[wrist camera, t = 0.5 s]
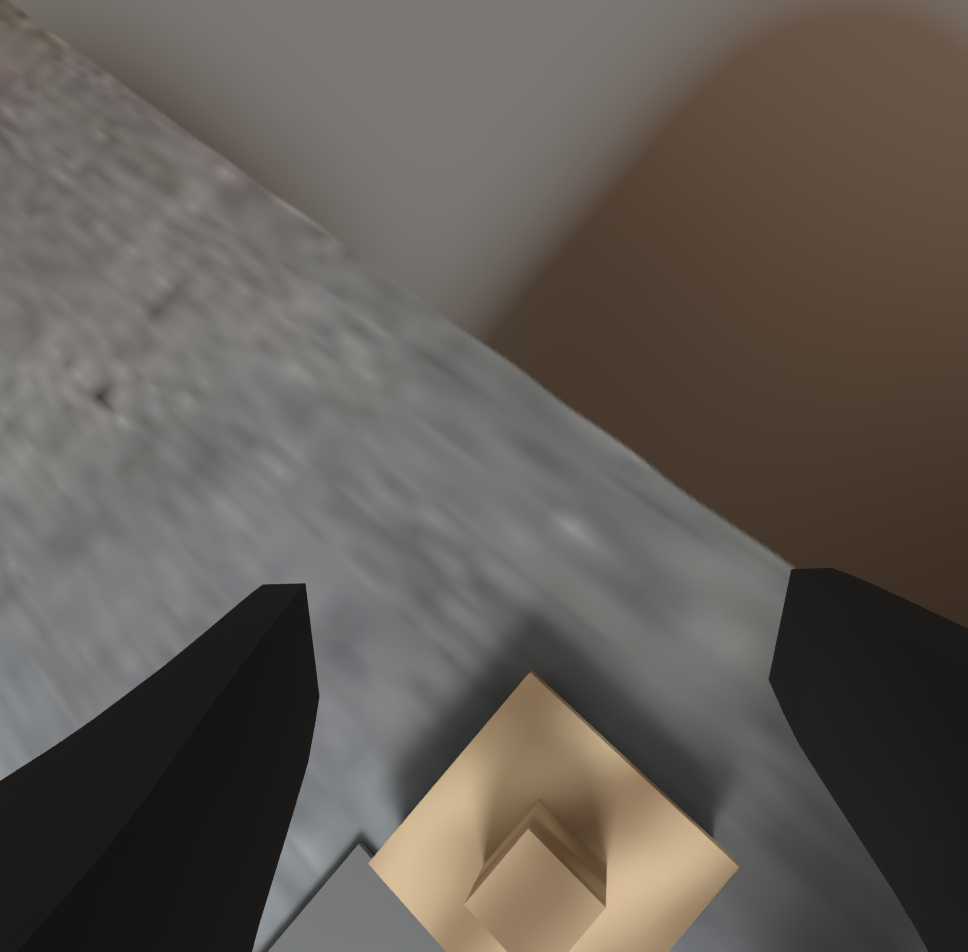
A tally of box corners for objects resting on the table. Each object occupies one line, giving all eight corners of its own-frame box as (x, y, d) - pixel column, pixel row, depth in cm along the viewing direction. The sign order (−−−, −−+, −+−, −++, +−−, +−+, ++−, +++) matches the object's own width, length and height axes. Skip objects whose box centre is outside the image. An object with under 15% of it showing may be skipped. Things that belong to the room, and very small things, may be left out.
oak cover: (736, 859, 29) (759, 910, 24) (561, 1067, 29) (551, 1159, 24) (532, 670, 32) (517, 683, 27) (373, 856, 32) (333, 901, 27)
